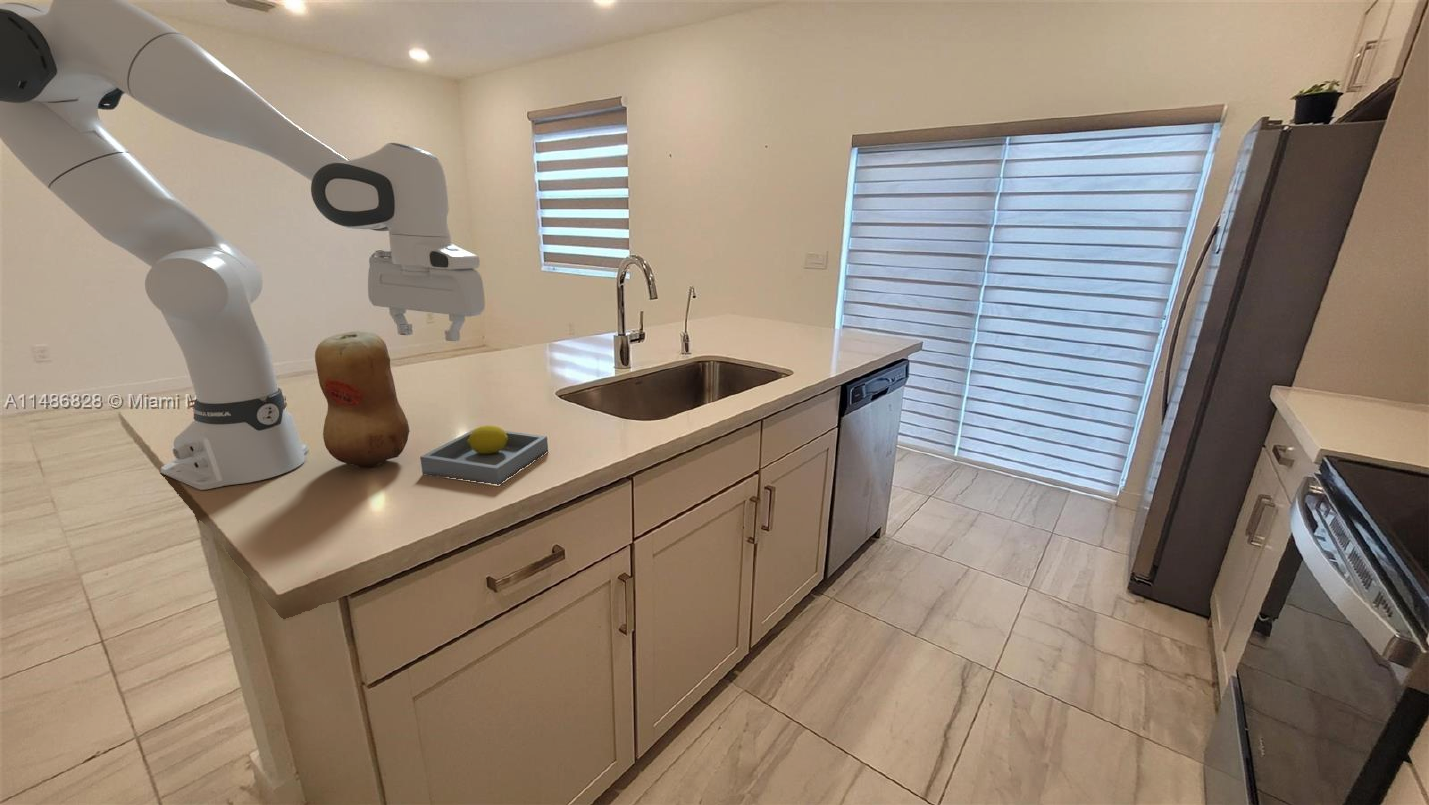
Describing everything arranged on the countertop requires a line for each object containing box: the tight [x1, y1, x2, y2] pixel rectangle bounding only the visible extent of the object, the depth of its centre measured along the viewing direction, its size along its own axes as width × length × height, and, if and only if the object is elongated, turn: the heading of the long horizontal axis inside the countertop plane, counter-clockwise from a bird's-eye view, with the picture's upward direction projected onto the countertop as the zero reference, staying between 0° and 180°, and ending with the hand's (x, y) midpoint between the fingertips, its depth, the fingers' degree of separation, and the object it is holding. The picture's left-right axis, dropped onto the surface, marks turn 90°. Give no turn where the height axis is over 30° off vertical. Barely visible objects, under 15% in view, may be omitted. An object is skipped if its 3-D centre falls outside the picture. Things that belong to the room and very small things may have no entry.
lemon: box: [467, 425, 508, 454], centre depth 108 cm, size 6×6×8 cm
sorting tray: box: [419, 426, 549, 485], centre depth 105 cm, size 16×16×4 cm
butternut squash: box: [314, 330, 410, 468], centre depth 100 cm, size 14×13×25 cm
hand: (428, 337), depth 94 cm, fingers open, 8 cm apart
